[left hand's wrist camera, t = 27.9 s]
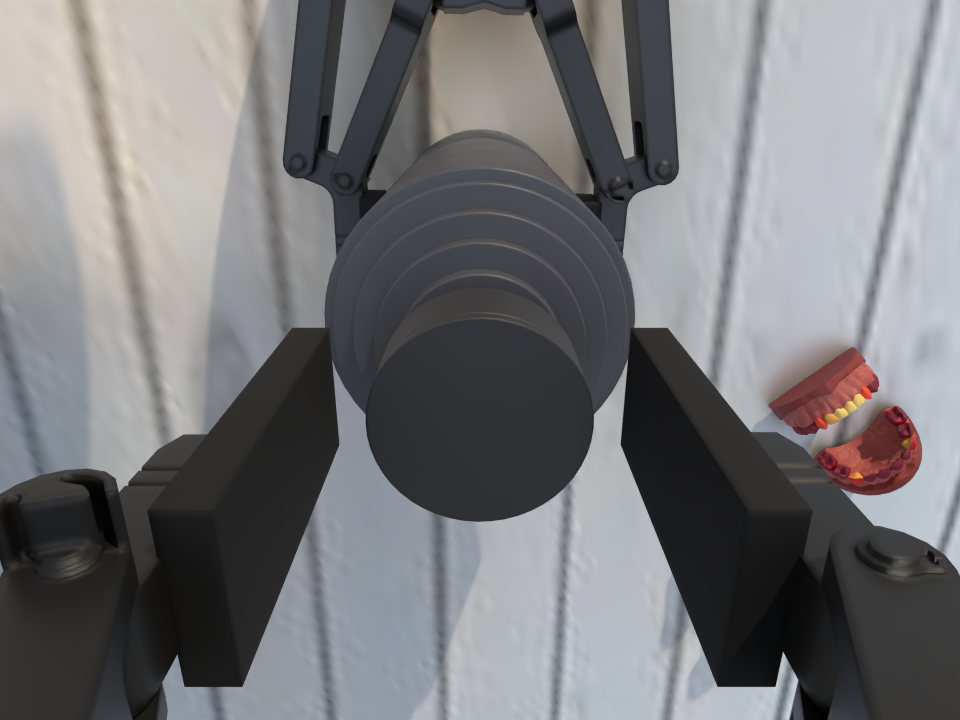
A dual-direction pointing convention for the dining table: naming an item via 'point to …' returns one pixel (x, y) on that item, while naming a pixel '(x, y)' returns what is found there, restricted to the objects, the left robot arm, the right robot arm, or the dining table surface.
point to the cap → (479, 406)
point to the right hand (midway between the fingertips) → (478, 341)
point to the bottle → (479, 257)
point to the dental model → (872, 455)
